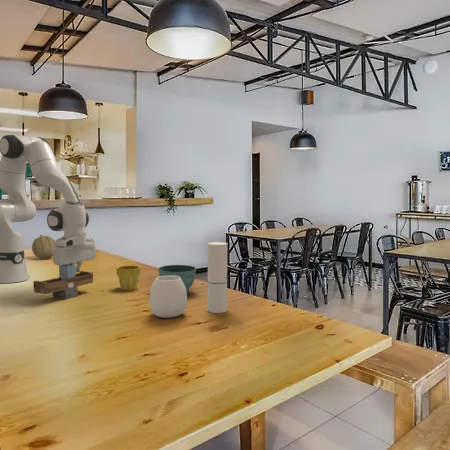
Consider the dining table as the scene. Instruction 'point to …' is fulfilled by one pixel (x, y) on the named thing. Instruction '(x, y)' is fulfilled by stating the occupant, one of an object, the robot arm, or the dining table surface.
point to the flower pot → (180, 273)
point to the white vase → (168, 296)
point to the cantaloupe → (43, 247)
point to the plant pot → (128, 276)
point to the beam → (63, 285)
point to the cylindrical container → (217, 277)
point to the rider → (66, 271)
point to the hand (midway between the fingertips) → (76, 272)
